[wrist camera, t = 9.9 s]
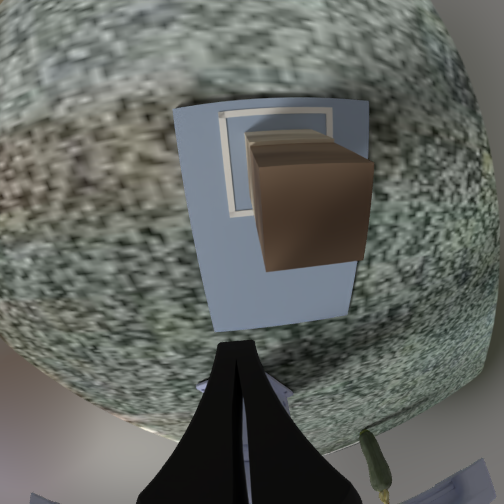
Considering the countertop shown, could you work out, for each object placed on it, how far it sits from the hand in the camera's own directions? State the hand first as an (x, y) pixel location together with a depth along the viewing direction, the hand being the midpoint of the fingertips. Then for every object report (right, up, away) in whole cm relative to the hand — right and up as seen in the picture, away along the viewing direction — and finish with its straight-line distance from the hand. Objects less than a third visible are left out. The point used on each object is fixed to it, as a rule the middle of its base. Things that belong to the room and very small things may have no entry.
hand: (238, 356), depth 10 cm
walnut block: (+3, +7, +2) cm, 8 cm away
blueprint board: (+3, +6, +9) cm, 11 cm away
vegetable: (+25, -33, +35) cm, 54 cm away
